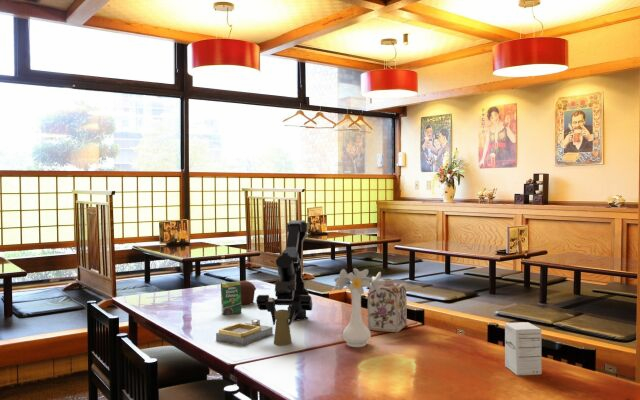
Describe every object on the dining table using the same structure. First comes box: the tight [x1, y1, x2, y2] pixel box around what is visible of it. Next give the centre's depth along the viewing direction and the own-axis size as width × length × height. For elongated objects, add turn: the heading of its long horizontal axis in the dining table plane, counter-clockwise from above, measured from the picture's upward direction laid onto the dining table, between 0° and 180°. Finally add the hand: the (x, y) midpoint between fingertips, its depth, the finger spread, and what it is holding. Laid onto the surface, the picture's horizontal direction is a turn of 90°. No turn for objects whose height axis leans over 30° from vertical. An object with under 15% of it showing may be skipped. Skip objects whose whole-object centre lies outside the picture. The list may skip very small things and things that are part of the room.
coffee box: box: [220, 280, 242, 316], centre depth 220 cm, size 8×3×13 cm, turn 113°
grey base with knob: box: [215, 319, 274, 346], centre depth 184 cm, size 16×12×4 cm
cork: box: [273, 309, 292, 346], centre depth 176 cm, size 6×6×11 cm
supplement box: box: [504, 321, 543, 376], centre depth 146 cm, size 7×7×13 cm
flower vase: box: [331, 267, 385, 348], centre depth 174 cm, size 13×18×25 cm
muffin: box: [238, 280, 257, 306], centre depth 240 cm, size 12×11×10 cm
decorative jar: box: [367, 277, 408, 333], centre depth 194 cm, size 12×12×18 cm
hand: (281, 324), depth 175 cm, fingers closed on cork, 5 cm apart
